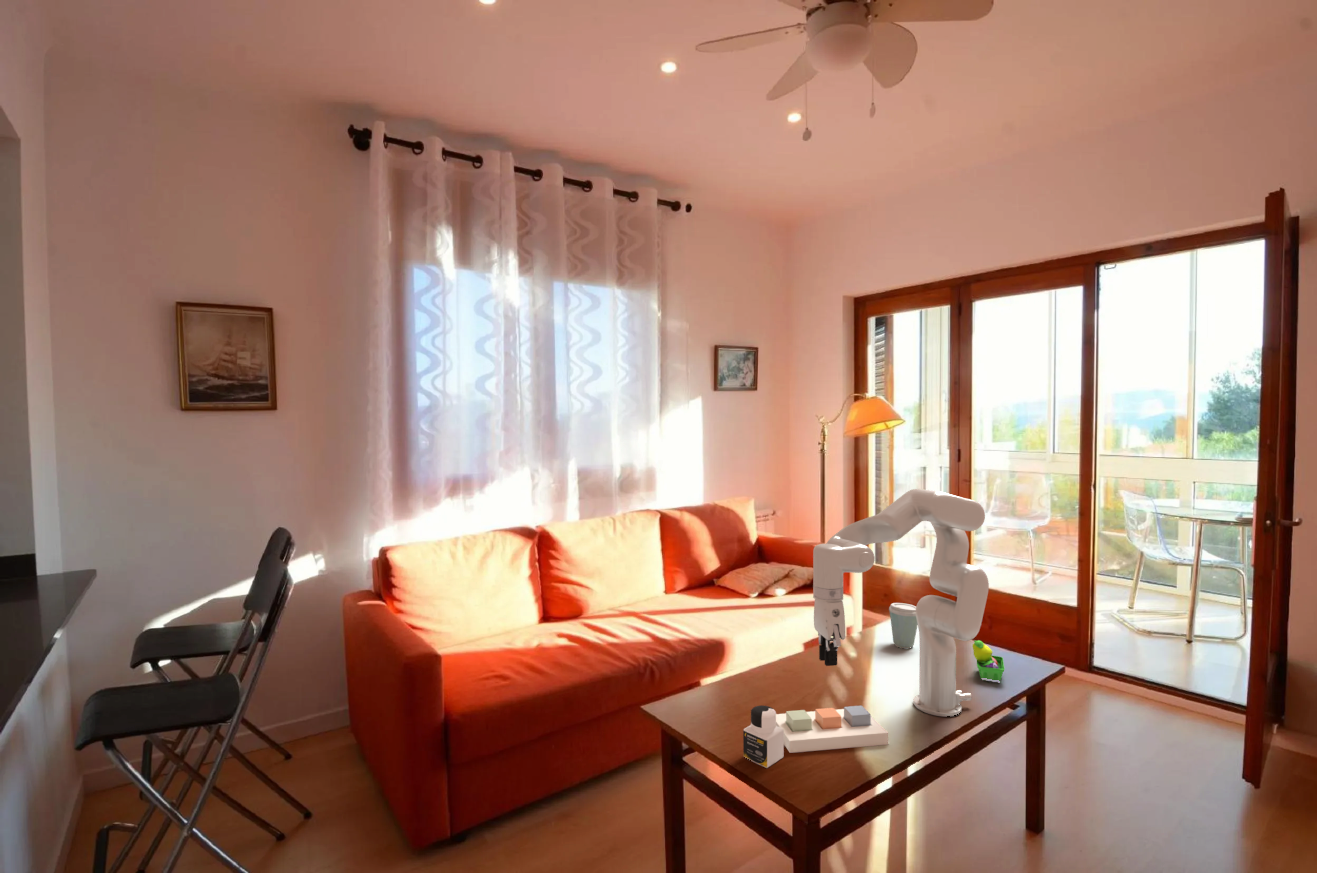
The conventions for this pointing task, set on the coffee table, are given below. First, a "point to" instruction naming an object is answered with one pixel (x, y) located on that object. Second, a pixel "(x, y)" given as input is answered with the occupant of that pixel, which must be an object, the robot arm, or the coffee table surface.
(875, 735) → the key board
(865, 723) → the key slate
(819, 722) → the key terracotta
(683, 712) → the coffee table surface
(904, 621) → the disposable coffee cup
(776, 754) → the medicine bottle
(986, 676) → the fruit basket
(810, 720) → the key sage
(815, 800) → the coffee table surface
